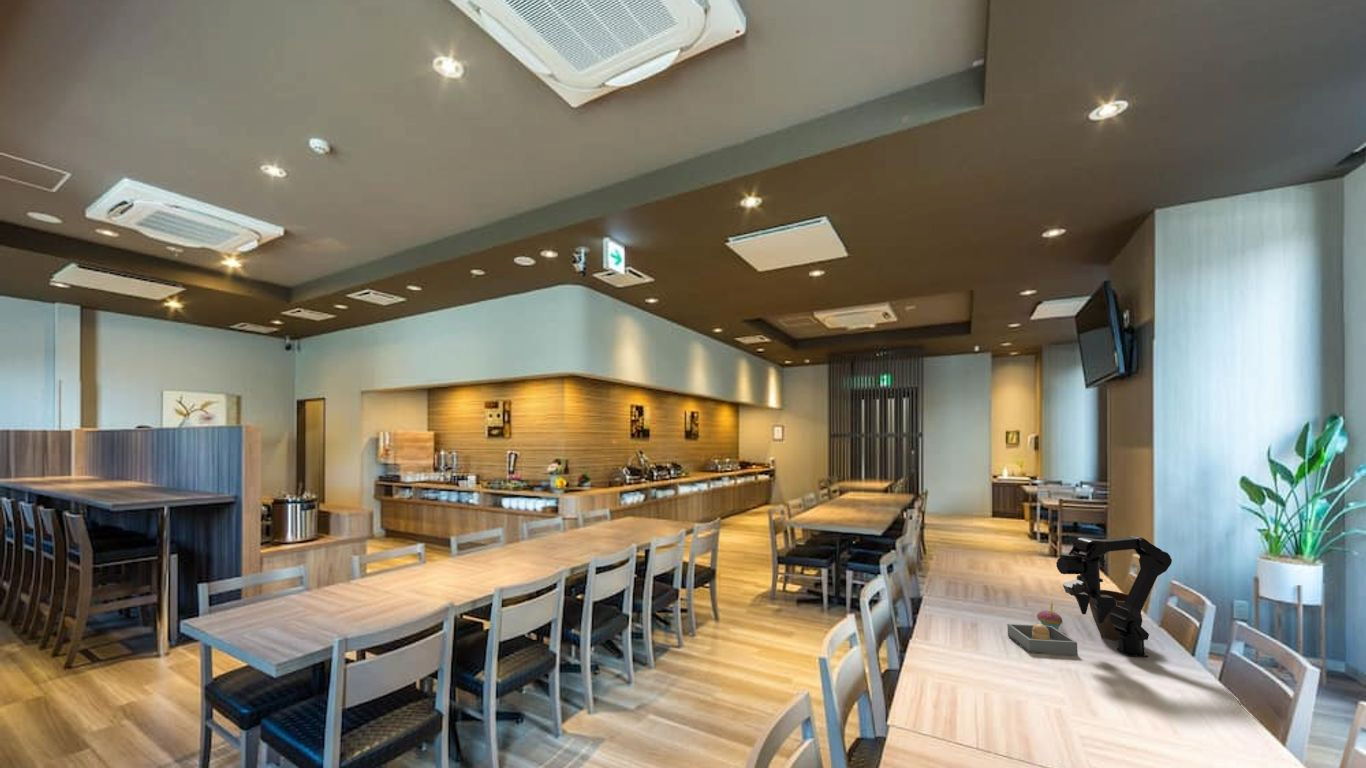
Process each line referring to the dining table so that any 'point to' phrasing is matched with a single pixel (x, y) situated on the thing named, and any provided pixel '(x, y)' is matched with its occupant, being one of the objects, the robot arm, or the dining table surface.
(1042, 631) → the tan oval piece
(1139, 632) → the robot arm
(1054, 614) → the cupcake
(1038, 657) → the dining table surface
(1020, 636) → the bin
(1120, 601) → the plant pot
